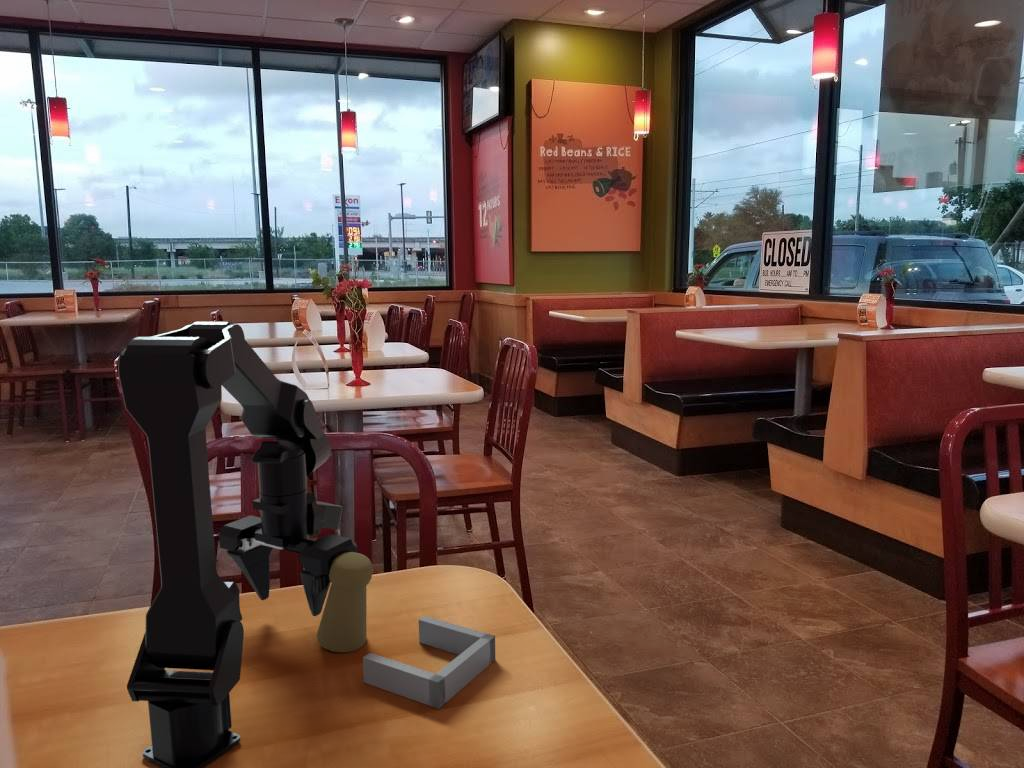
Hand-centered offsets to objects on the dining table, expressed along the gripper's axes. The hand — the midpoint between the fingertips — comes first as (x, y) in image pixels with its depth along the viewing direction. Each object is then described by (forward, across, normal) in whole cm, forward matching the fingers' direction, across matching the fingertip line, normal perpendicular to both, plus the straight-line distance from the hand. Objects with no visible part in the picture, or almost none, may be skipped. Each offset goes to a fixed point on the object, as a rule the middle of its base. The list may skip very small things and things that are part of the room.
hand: (290, 606), depth 99 cm
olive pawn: (+2, -9, 0) cm, 9 cm away
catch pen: (+2, -22, 0) cm, 22 cm away
